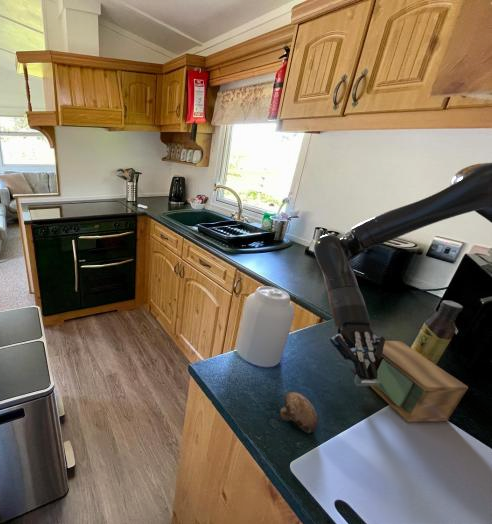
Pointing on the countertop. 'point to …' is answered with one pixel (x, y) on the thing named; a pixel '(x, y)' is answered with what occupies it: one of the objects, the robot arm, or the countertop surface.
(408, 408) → the cupboard
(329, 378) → the countertop surface
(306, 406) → the mushroom
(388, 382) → the door
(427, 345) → the sauce bottle
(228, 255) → the countertop surface
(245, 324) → the can
